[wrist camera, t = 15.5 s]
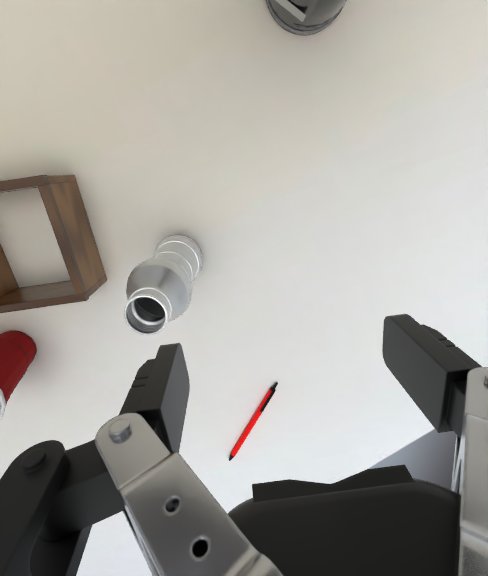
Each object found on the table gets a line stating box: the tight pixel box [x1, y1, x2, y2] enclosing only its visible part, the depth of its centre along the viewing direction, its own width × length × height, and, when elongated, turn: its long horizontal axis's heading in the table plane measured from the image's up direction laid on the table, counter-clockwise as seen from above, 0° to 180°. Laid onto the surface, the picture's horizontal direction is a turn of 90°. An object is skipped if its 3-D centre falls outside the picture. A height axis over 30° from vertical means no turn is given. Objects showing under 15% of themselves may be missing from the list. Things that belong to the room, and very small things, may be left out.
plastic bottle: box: [124, 235, 203, 335], centre depth 36 cm, size 6×7×20 cm
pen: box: [229, 383, 278, 461], centre depth 56 cm, size 1×19×1 cm, turn 154°
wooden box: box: [0, 175, 107, 313], centre depth 40 cm, size 15×14×7 cm
